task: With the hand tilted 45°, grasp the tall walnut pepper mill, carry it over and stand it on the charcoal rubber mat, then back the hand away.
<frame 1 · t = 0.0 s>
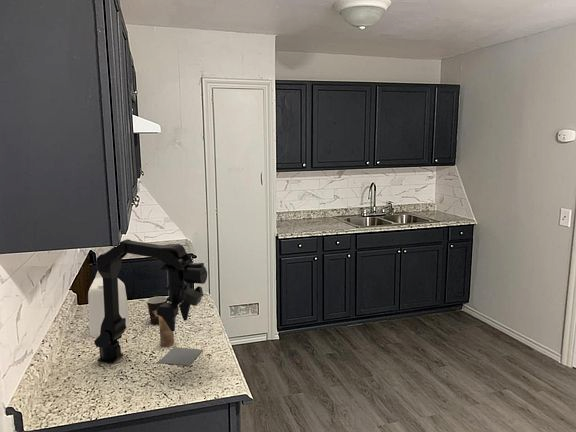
hand: (179, 325, 155), 15 cm above the counter, tool pointing down, fingers open, 9 cm apart
milk: (110, 330, 188), on the counter
pepper mill: (167, 344, 174), on the counter
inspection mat: (181, 356, 164), on the counter
coffee mug: (162, 322, 196), on the counter
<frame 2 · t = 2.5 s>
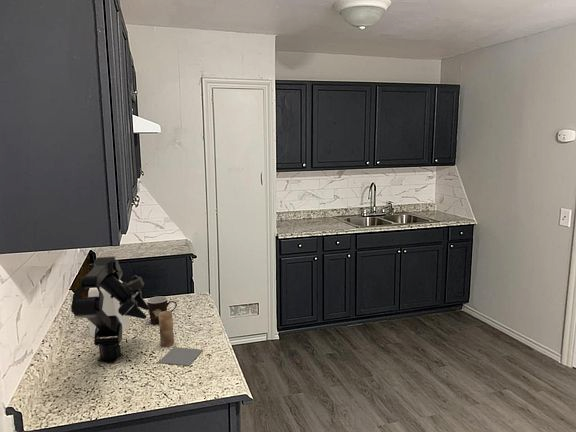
hand: (147, 313, 170), 13 cm above the counter, tool tilted 45°, fingers open, 9 cm apart
nothing on the counter moved.
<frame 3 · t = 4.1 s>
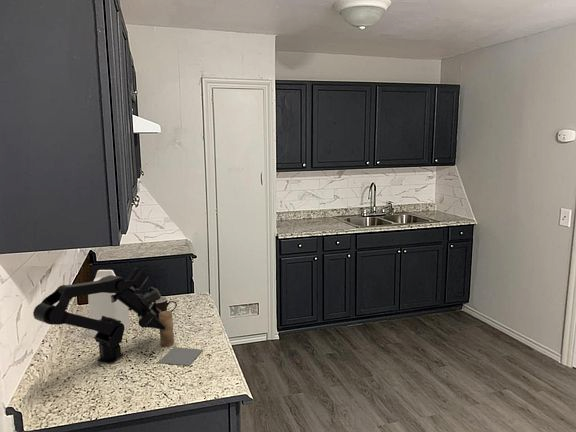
hand: (164, 323, 173), 8 cm above the counter, tool tilted 45°, fingers open, 9 cm apart
nothing on the counter moved.
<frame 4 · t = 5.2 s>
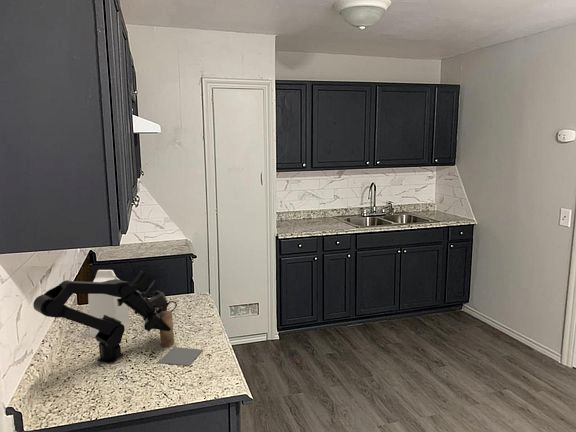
hand: (170, 327, 173), 7 cm above the counter, tool tilted 45°, fingers closed on pepper mill, 5 cm apart
pepper mill: (167, 344, 174), on the counter, touching gripper
everything else where it was.
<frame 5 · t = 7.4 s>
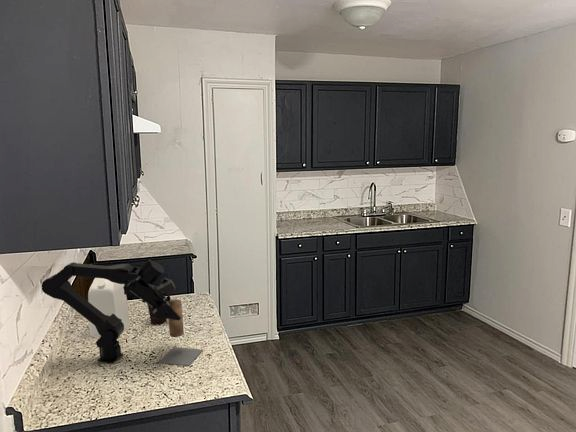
hand: (179, 316, 165), 14 cm above the counter, tool tilted 45°, fingers closed on pepper mill, 5 cm apart
pepper mill: (176, 334, 166), point 7 cm above the counter, touching gripper
everything else where it was.
when the fingers open (8 cm above the counter, at t = 9.3 s): pepper mill drops 1 cm, resting on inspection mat.
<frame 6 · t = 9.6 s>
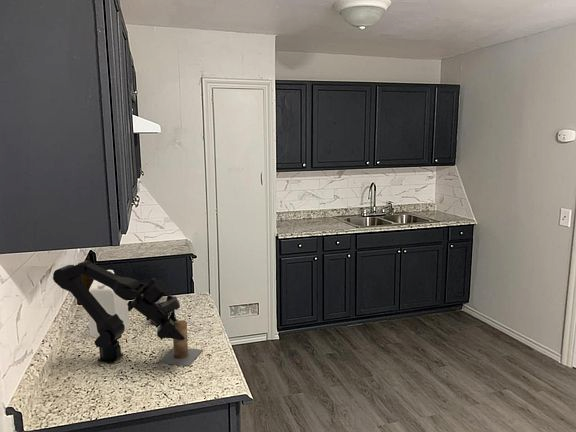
hand: (183, 334, 163), 8 cm above the counter, tool tilted 45°, fingers open, 8 cm apart
pepper mill: (180, 355, 163), resting on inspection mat
everything else where it was.
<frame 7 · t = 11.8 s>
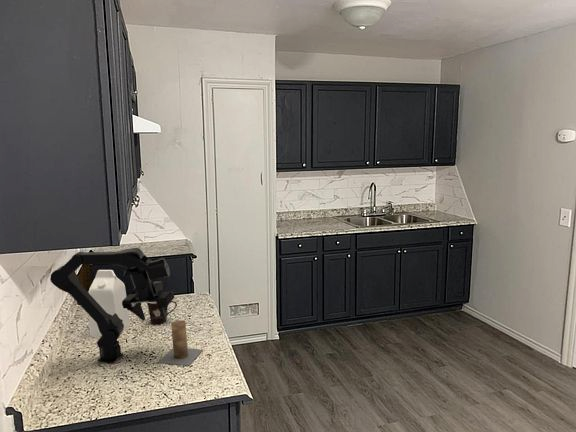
hand: (154, 319, 166), 13 cm above the counter, tool pointing down, fingers open, 9 cm apart
nothing on the counter moved.
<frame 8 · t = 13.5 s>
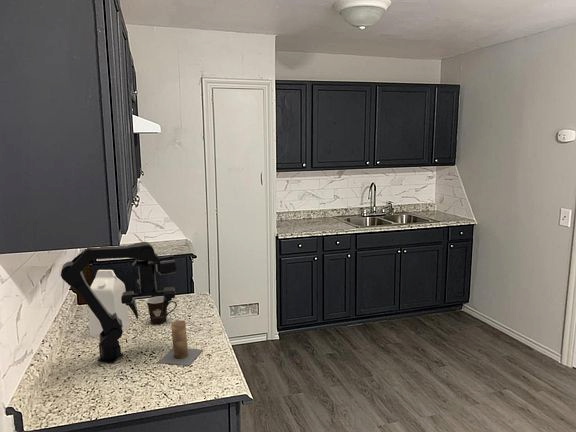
hand: (150, 317, 167), 13 cm above the counter, tool pointing down, fingers open, 9 cm apart
nothing on the counter moved.
at the end: pepper mill inside the target area on the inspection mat (0.1 cm from its centre), point 0.3 cm above the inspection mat's base; pepper mill tilted 1°; the gripper is holding nothing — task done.
